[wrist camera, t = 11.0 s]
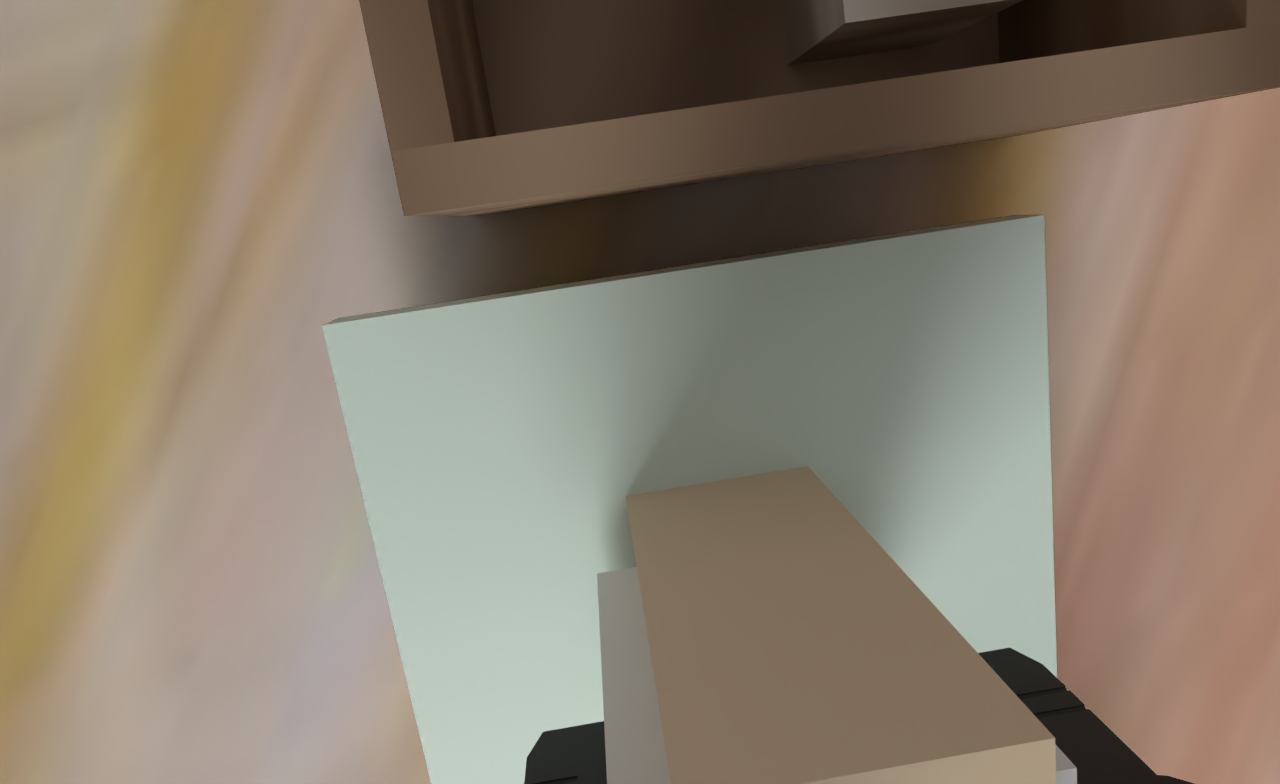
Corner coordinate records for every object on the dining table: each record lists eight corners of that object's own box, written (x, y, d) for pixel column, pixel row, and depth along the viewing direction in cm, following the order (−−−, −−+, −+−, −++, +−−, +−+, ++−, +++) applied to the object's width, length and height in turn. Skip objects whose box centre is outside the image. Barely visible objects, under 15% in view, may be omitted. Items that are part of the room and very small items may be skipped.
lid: (478, 855, 19) (365, 1558, 9) (353, 311, 16) (-19, 469, 6) (1011, 759, 19) (1459, 1322, 9) (988, 215, 16) (1605, 213, 6)
